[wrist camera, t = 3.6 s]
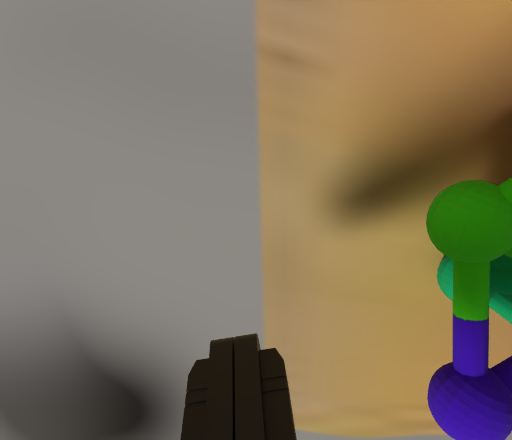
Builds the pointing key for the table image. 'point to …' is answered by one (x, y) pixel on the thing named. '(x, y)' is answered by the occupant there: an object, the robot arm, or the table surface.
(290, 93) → the table surface
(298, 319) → the table surface
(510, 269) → the decorative model
